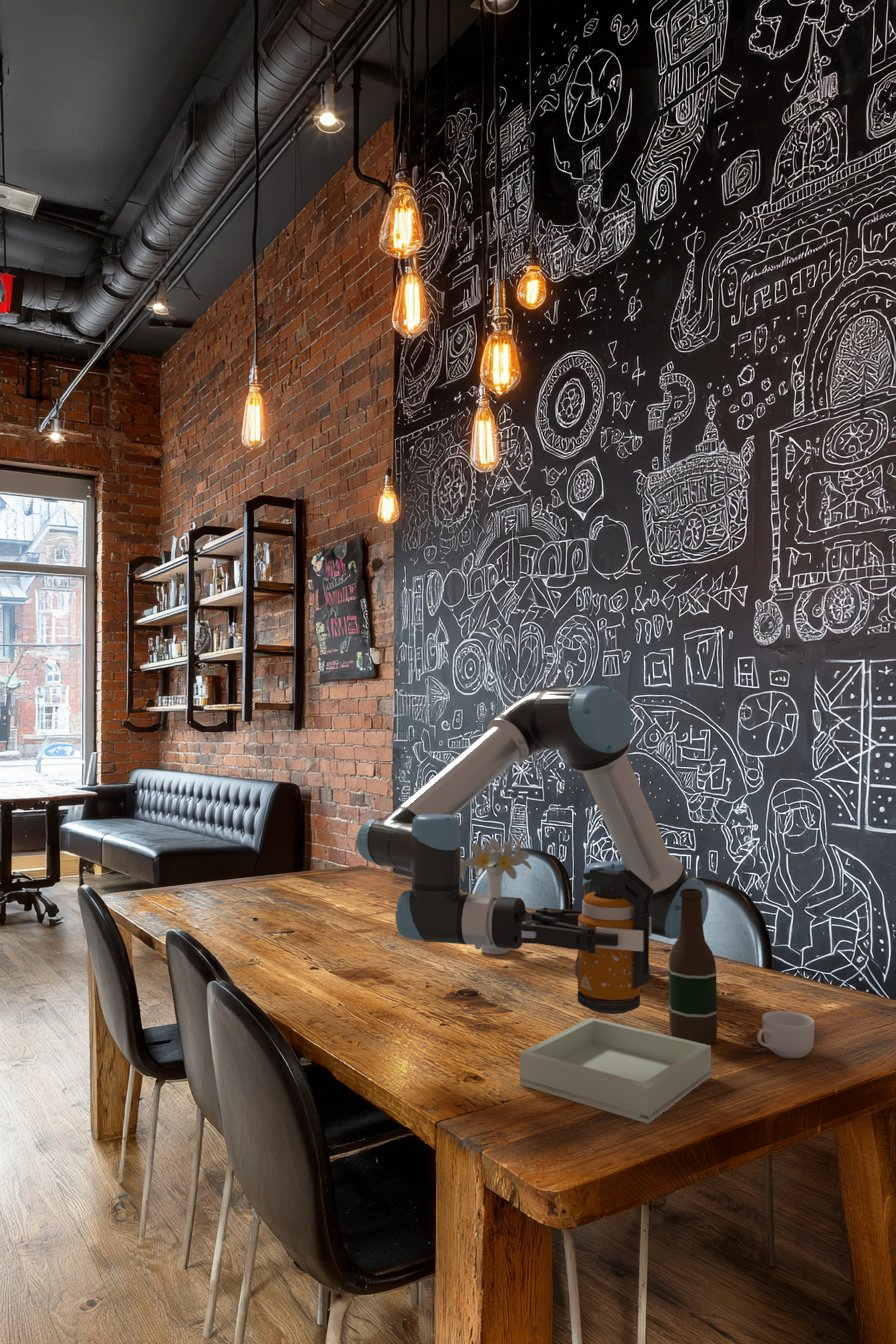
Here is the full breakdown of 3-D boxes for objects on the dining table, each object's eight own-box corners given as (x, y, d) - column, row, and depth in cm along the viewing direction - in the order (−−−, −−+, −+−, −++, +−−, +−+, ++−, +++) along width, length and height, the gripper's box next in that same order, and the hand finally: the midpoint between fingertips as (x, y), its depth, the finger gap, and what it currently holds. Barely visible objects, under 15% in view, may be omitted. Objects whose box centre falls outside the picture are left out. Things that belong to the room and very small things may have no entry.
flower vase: (443, 950, 206) (444, 838, 208) (514, 941, 214) (514, 834, 216) (470, 963, 195) (470, 845, 196) (543, 954, 203) (543, 840, 204)
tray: (591, 1046, 146) (590, 1017, 146) (711, 1077, 133) (710, 1045, 133) (519, 1084, 130) (519, 1052, 130) (648, 1123, 117) (648, 1088, 118)
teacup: (789, 1042, 148) (788, 1008, 148) (826, 1058, 141) (825, 1022, 141) (741, 1051, 144) (740, 1016, 144) (776, 1068, 137) (776, 1031, 137)
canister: (597, 992, 139) (598, 860, 140) (664, 1009, 132) (665, 869, 132) (565, 1007, 132) (566, 868, 133) (634, 1025, 125) (635, 878, 126)
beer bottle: (684, 1048, 145) (682, 895, 146) (659, 1032, 152) (658, 886, 153) (727, 1043, 147) (725, 892, 148) (701, 1028, 154) (699, 884, 156)
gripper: (514, 931, 148) (655, 942, 141) (474, 964, 128) (637, 979, 121) (514, 884, 149) (655, 893, 142) (475, 910, 128) (637, 922, 121)
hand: (647, 933), depth 131 cm, fingers closed on canister, 9 cm apart
